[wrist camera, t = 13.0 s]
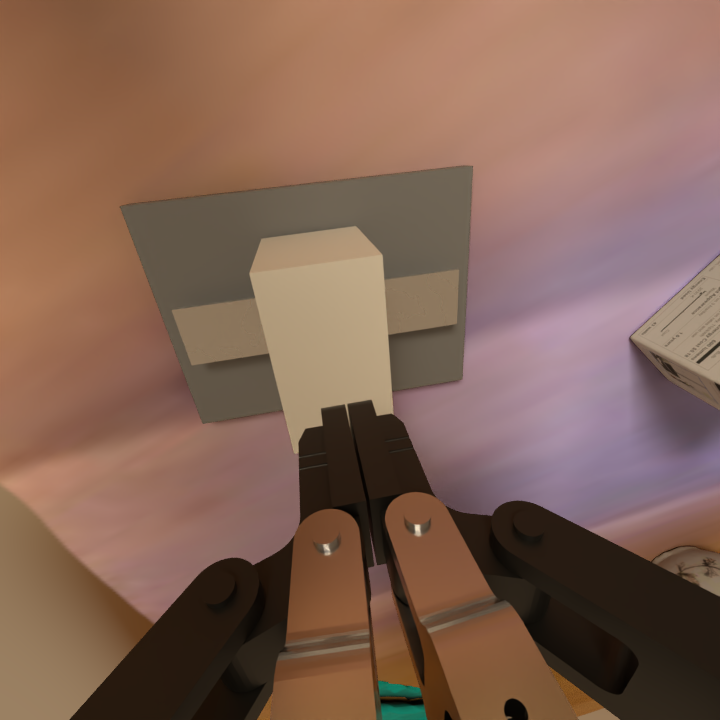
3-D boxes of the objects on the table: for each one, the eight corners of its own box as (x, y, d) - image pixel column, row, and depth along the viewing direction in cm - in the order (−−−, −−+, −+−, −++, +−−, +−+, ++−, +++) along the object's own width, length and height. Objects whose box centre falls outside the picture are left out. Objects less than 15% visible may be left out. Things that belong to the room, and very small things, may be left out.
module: (261, 238, 18) (248, 273, 12) (355, 225, 18) (382, 254, 13) (293, 383, 22) (294, 456, 16) (370, 370, 22) (395, 437, 17)
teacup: (623, 545, 38) (697, 631, 31) (737, 509, 39) (835, 587, 32) (608, 617, 46) (665, 699, 39) (704, 587, 46) (777, 663, 39)
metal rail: (178, 301, 18) (171, 310, 17) (450, 263, 20) (459, 269, 19) (196, 354, 20) (191, 365, 19) (448, 315, 21) (457, 323, 20)
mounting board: (128, 204, 17) (119, 206, 16) (464, 165, 19) (472, 166, 18) (206, 413, 23) (202, 423, 22) (456, 371, 24) (462, 379, 24)
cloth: (454, 727, 57) (460, 748, 55) (366, 753, 56) (369, 774, 54) (450, 645, 44) (458, 668, 42) (336, 676, 43) (338, 701, 41)
